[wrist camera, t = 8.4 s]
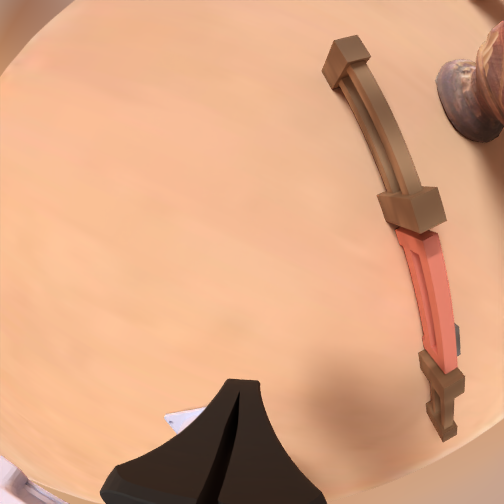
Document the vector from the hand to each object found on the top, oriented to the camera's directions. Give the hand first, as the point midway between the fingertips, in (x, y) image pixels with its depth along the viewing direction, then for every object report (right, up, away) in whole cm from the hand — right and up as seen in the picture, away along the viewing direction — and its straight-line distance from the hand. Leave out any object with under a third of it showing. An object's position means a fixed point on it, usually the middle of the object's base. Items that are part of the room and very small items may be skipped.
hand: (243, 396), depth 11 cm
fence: (+13, +4, +9) cm, 17 cm away
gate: (+14, +3, +9) cm, 16 cm away
